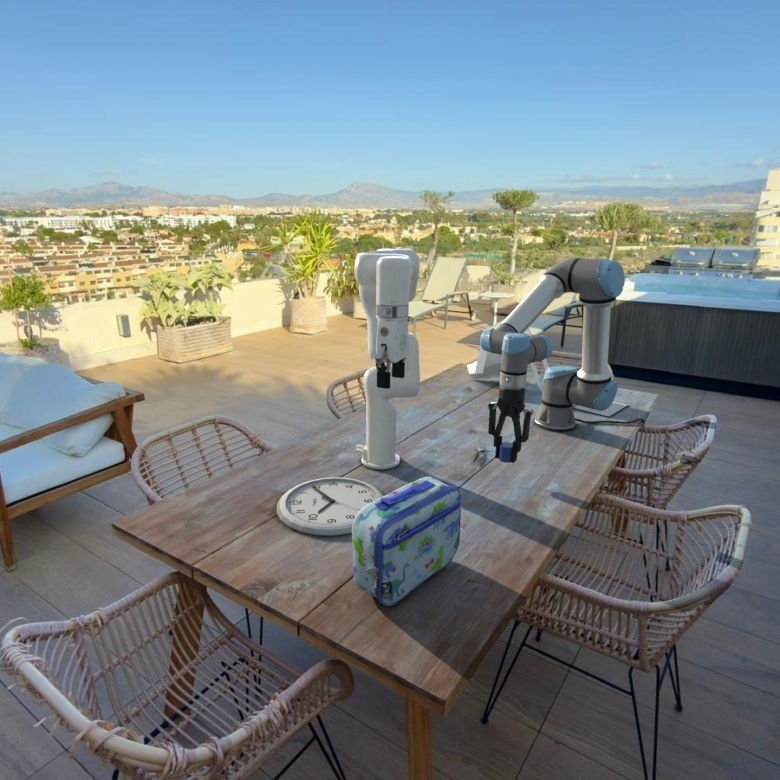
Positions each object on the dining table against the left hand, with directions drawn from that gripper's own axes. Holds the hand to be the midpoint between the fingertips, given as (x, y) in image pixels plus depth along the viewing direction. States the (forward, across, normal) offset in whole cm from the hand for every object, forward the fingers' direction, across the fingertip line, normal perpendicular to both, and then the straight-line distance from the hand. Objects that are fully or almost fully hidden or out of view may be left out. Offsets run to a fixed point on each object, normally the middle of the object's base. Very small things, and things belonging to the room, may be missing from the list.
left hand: (391, 382), depth 126 cm
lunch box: (+37, -21, -13) cm, 45 cm away
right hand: (+32, +37, -24) cm, 54 cm away
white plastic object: (+37, +134, -9) cm, 139 cm away
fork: (+37, +49, -13) cm, 63 cm away
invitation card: (+37, +120, -52) cm, 136 cm away
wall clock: (+37, 0, +16) cm, 41 cm away
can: (+32, +37, -24) cm, 55 cm away
